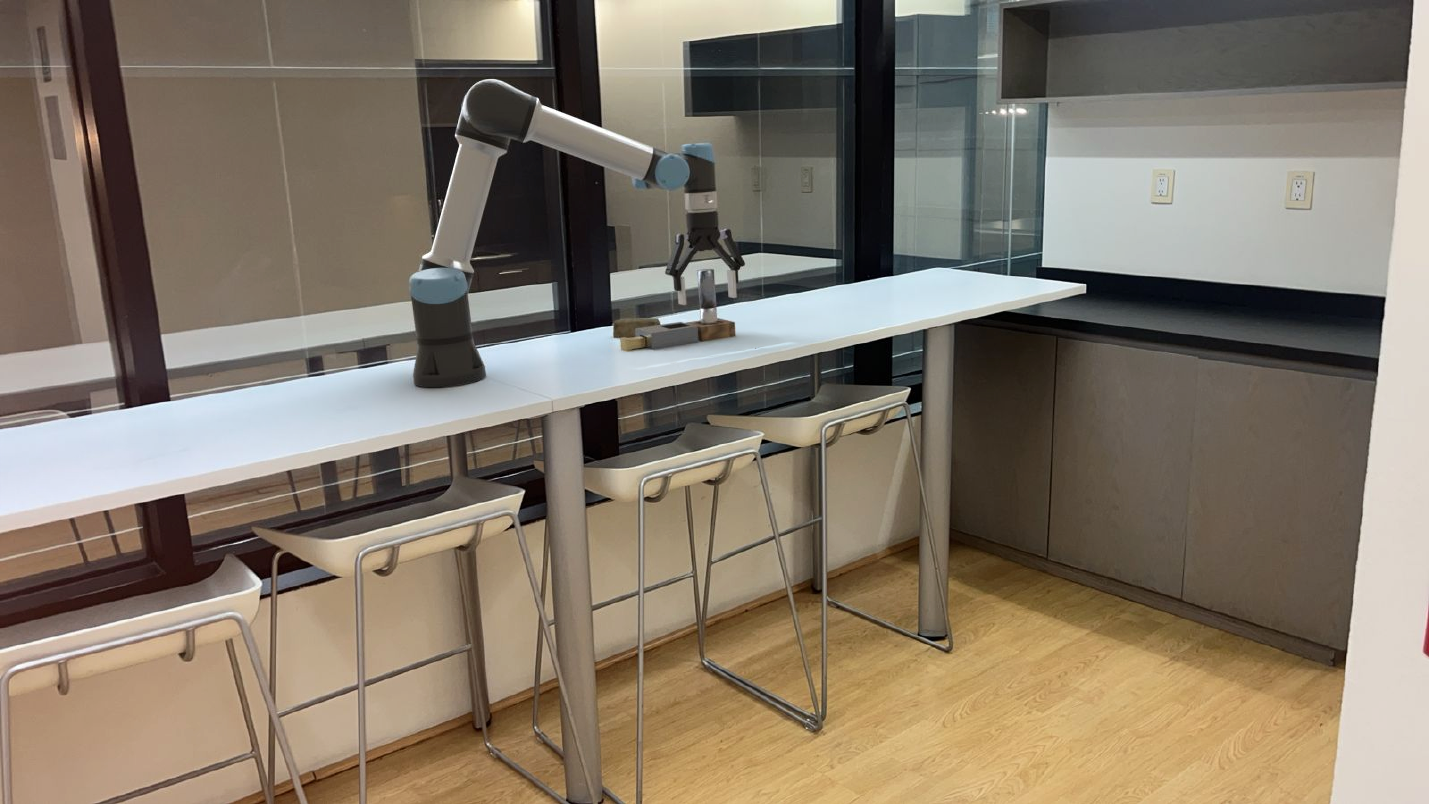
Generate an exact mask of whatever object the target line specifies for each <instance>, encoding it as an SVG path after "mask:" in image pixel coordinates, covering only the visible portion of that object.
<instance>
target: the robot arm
mask: <svg viewBox="0 0 1429 804" xmlns="http://www.w3.org/2000/svg"><path fill="white" fill-rule="evenodd" d="M460 106H461V108H460V109H461V111H460V115H459V118H458V123H457V126H456V129H455V134H454V137H455V139H456V140H457V143H458V146H459V147H458V150H457V153H456V157H455V160H454V161H455V162H454V165H453V169H452V172H451V176H450V178H449V179H450V180H449V184H448V188H447V190H446V194H445V197H444V198H445V199H444V202H443V205H442V209H441V214H440V217H439V220H438V221H439V222H438V223H437V224H438V225H437V228H436V232H435V235H434V240H433V242H432V247H431V250H430V251H429V252H427V253H425V254H424V255H422V258H421V261H420V264H419V268H418V271H417V272H414V273H413V274H412V275H410V278H409V285H408V291H409V294H410V299H411V307H412V314H413V322H414V328H415V335H416V343H417V344H416V345H417V350H416V357H415V361H414V362H415V363H414V367H413V371H412V372H413V373H412V376H413V384H414V385H415V386H417V387H421V388H444V387H445V388H446V387H447V388H448V387H454V386H455V387H456V386H461V385H466V384H471V383H474V382H477V381H481V380H483V379H485V378H486V377H487V374H486V366H485V364H484V363H485V362H483V359H482V357H481V355H480V353H479V350H478V349H477V347H476V344H475V340H474V336H473V335H474V334H473V328H472V327H473V326H472V319H471V317H472V316H471V310H470V302H469V292H470V288H471V285H472V281H473V277H474V273H475V270H474V268H473V266H472V264H471V258H472V254H473V250H474V248H475V243H476V240H477V236H478V234H479V233H478V232H479V229H480V225H481V222H482V218H483V213H484V210H485V207H486V204H487V200H488V197H489V192H490V189H491V185H492V180H493V177H494V175H495V174H494V173H495V170H496V167H497V163H498V159H499V158H500V157H502V156H504V155H505V154H507V153H508V150H509V146H510V142H511V140H515V141H518V142H521V143H527V142H529V141H532V142H535V143H538V144H541V145H543V146H545V147H547V148H548V147H549V148H551V149H555V150H557V151H560V152H563V153H565V154H568V155H571V156H573V157H577V158H579V159H581V160H585V161H587V162H591V163H592V164H595V165H598V166H601V167H604V168H607V169H609V170H612V171H615V172H618V173H621V174H623V175H625V176H628V177H631V181H632V182H631V183H632V186H633V187H634V188H635V189H636V190H646V191H648V190H656V189H658V190H660V189H661V190H667V191H670V192H672V191H675V190H678V189H681V188H682V187H683V190H684V191H683V192H684V193H683V194H684V206H685V208H684V209H685V211H688V212H686V214H685V218H686V220H685V221H686V229H687V232H686V234H683V233H682V234H681V233H676V234H675V236H674V237H675V238H674V246H673V247H672V251H671V254H670V257H669V260H668V262H667V265H666V268H665V271H664V273H665V275H666V276H667V275H668V276H670V277H672V280H673V289H674V292H675V291H676V292H677V302H678V305H681V306H687V295H686V294H687V293H686V283H685V282H686V281H685V280H686V279H685V278H686V277H684V276H682V275H683V273H684V272H685V270H686V269H687V268H688V266H689V264H690V262H691V260H692V259H693V257H694V256H695V255H696V254H697V253H698V252H705V251H714V252H715V253H716V254H717V255H718V256H719V257H720V259H721V260H722V261H723V262H724V264H726V266H727V267H728V268H729V269H726V277H727V292H728V298H733V299H735V298H737V297H738V296H737V284H738V283H739V280H740V279H739V271H740V270H741V268H742V267H745V265H746V262H745V260H744V258H743V257H742V255H741V253H740V251H739V249H738V247H737V245H736V243H735V241H734V239H733V236H732V231H731V229H729V228H723V229H721V230H720V229H719V224H720V223H719V212H718V210H716V209H717V208H718V198H717V197H718V196H717V195H718V194H717V182H716V160H715V152H714V147H713V145H712V144H711V143H710V142H701V143H700V142H698V143H685V144H684V143H683V144H682V145H681V149H680V152H677V153H669V152H667V151H663V150H662V149H660V148H659V149H658V148H655V147H653V146H651V145H648V144H645V143H643V142H641V141H637V140H635V139H632V138H629V137H627V136H624V135H622V134H619V133H617V132H613V131H611V130H608V129H606V128H603V127H600V126H597V125H595V124H592V123H590V122H587V121H585V120H582V119H579V118H578V117H574V116H572V115H570V114H567V113H564V112H561V111H559V110H556V109H553V108H551V107H548V106H545V105H543V104H542V103H541V101H540V99H539V98H538V97H535V96H534V95H530V94H528V93H526V92H524V91H522V90H519V89H518V88H516V87H514V86H512V85H510V84H509V83H507V82H505V81H502V80H500V79H494V78H490V79H489V78H488V79H482V80H480V81H478V82H476V83H475V84H474V85H472V86H471V87H470V89H468V90H467V92H466V93H465V94H464V97H463V99H462V102H461V105H460ZM720 238H721V239H722V240H723V242H724V244H725V246H726V249H727V250H728V252H729V253H728V252H727V251H726V250H725V248H723V245H722V244H721V243H720V242H719V239H720ZM686 242H688V245H687V247H686V248H685V252H684V254H683V255H682V252H683V250H684V246H685V244H686ZM681 256H682V257H681Z"/></svg>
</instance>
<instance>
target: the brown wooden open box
mask: <svg viewBox="0 0 1429 804" xmlns="http://www.w3.org/2000/svg"><path fill="white" fill-rule="evenodd" d="M685 323H687V324H691V325H695V326H698V341H699V342H708V341H715V340H721V339H729V338H734V337H736V322H735V321H733V320H727V319H723V318H720V317H719V318H718V317H717V324H710V325H701V319H700V320H695V321H688V322H685Z"/></svg>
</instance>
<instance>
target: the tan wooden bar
mask: <svg viewBox="0 0 1429 804" xmlns="http://www.w3.org/2000/svg"><path fill="white" fill-rule="evenodd" d="M619 340H620V342H619V343H620V350H621V351H624V352H632V350H636V349H641V348H647V338H646V336H639V337H633V338H626V337H623V338H619Z"/></svg>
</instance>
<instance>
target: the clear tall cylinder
mask: <svg viewBox="0 0 1429 804" xmlns="http://www.w3.org/2000/svg"><path fill="white" fill-rule="evenodd" d="M696 273H697V274H696V275H697V285H698V286H697V288H698V299H699V315H700V318H699V319H700V320H701V325H710V324H717V318H718V311H717V298H716V297H717V295H716V294H717V293H716V282H715V281H716V279H715V278H716V277H715V269H714V268H713V269H712V268H703V269H697V270H696Z"/></svg>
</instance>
